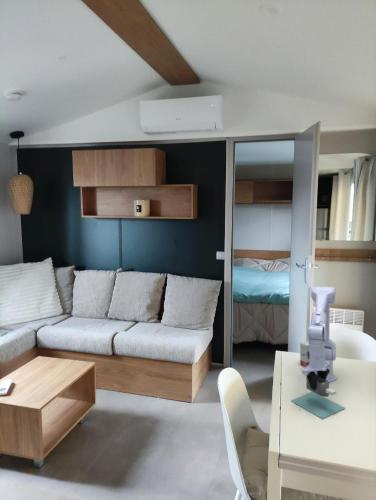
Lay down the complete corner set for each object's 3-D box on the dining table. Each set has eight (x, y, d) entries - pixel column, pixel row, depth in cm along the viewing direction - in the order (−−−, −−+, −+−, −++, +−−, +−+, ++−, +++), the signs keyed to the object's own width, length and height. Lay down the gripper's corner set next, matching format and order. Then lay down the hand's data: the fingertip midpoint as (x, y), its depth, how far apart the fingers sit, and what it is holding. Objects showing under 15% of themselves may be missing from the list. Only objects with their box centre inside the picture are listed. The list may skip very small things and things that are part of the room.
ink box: (306, 368, 180) (306, 345, 179) (299, 364, 184) (299, 342, 183) (320, 364, 183) (319, 342, 182) (313, 361, 188) (312, 339, 187)
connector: (304, 387, 149) (304, 375, 149) (311, 384, 151) (311, 373, 151) (330, 400, 138) (330, 388, 137) (337, 397, 140) (337, 385, 139)
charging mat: (290, 401, 150) (290, 400, 150) (312, 392, 157) (312, 391, 157) (322, 419, 136) (322, 418, 136) (345, 408, 143) (345, 407, 143)
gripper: (312, 362, 137) (312, 396, 139) (337, 353, 144) (337, 386, 146) (298, 356, 143) (298, 389, 145) (323, 348, 150) (323, 379, 152)
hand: (317, 387), depth 146 cm, fingers closed on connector, 4 cm apart
